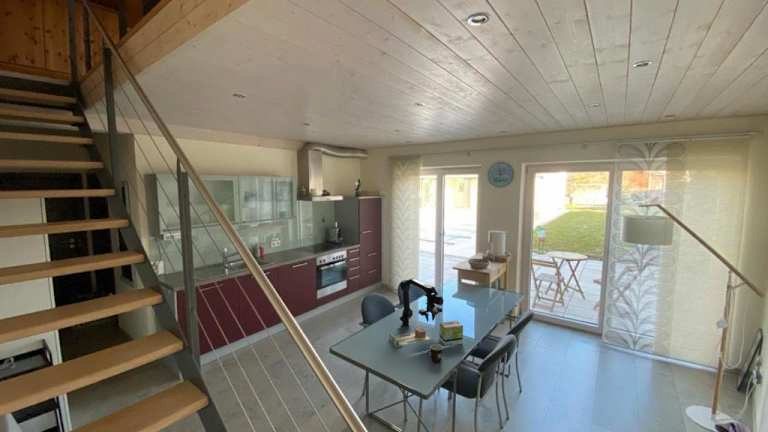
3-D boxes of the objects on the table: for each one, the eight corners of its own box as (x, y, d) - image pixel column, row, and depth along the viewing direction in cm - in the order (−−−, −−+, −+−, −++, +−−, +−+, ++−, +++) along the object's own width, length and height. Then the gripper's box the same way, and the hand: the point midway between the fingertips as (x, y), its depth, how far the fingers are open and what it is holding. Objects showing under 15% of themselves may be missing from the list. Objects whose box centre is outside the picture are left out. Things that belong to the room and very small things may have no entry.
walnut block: (415, 335, 256) (415, 329, 256) (421, 333, 259) (421, 327, 258) (418, 338, 251) (418, 332, 250) (425, 336, 253) (425, 330, 253)
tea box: (444, 347, 241) (445, 327, 239) (439, 340, 250) (439, 322, 249) (463, 344, 245) (463, 325, 243) (456, 337, 254) (456, 319, 253)
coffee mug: (441, 357, 227) (441, 343, 226) (443, 364, 218) (444, 349, 217) (424, 357, 226) (424, 343, 225) (426, 364, 218) (426, 350, 217)
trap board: (389, 339, 253) (389, 333, 253) (421, 332, 264) (421, 326, 263) (397, 348, 239) (397, 341, 239) (430, 340, 250) (430, 334, 249)
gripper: (425, 307, 244) (425, 327, 246) (446, 304, 251) (445, 323, 253) (418, 302, 255) (418, 321, 256) (438, 299, 262) (438, 317, 263)
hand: (430, 321), depth 257 cm, fingers open, 4 cm apart
